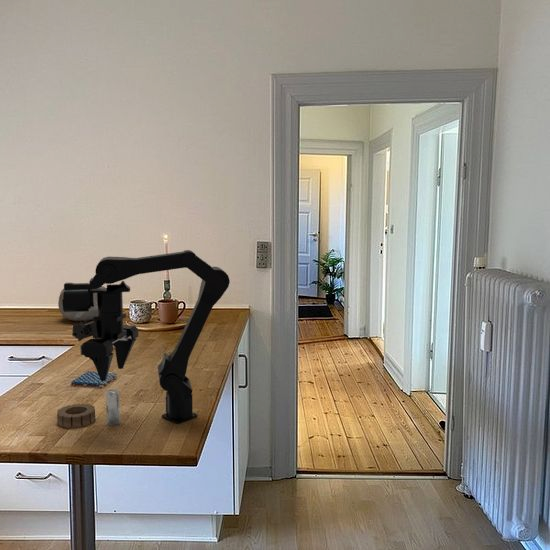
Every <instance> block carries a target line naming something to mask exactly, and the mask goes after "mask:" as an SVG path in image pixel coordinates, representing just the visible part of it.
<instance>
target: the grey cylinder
mask: <svg viewBox="0 0 550 550" xmlns="http://www.w3.org/2000/svg"><path fill="white" fill-rule="evenodd" d="M105 398H106V399H105V400H106V403H105V404H106V425H107V426H111V427H113V426H117V425H120V424H121V417H120V416H121V415H120V413H121V412H120V390H119V389H116V388H114V389H113V388H111V389H108V390H106V391H105Z"/></svg>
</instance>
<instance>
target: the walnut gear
mask: <svg viewBox="0 0 550 550" xmlns="http://www.w3.org/2000/svg"><path fill="white" fill-rule="evenodd" d="M95 407H96V406H94V405H92V404H87V403H77V404H76V403H75V404H69V405H66V406H63V407H61V408H59V409H58V410H57V412H56V417H57V425H58V426H60V427H61V428H65V427H66V428H67V429H68V428H69V429H74V428H82V427H86V426H89V425H91V424H93V423H94V422H95V421H96V409H95Z"/></svg>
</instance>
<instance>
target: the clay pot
mask: <svg viewBox="0 0 550 550" xmlns="http://www.w3.org/2000/svg"><path fill="white" fill-rule="evenodd" d="M101 288H106V287H105V286H104V285H102V286H101V287H99V288H98V289H101ZM63 293H64V288H63V289H61V292H60V294H59V297H58V305H57V306H58V310H59V312H60V314H61V315H62V316H63V317H64V318H65V319H67V320H70V321H74V322H87V321H91V320H92V321H93V318H94V316H96V315H98V307H97V293H94V294H95V306H94V307H91V309H90V311H87V312H64V311H63V303H62V299H63Z"/></svg>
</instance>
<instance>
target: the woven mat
mask: <svg viewBox="0 0 550 550" xmlns="http://www.w3.org/2000/svg"><path fill="white" fill-rule="evenodd" d="M117 377H118V376H117V373H114V372H112V373H111V372H110V373H109V372H108V375H107V378H106V381H101V379H100V377H99V374H98V372H97V371H96V372H95V371H92V372H91V371H89V370H88V371H87V372H84V373H83V374H81V375H80V376H78V377H76V378H75V379H73V380H71V382H70V386H71V387H78V386H79V387H81V386H82V387H81V388H91V387H92V388H93V389H104V388H105V387H106V386H108V385H109V384H112V382H113V381H114V380H117ZM79 387H78V388H79Z"/></svg>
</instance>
